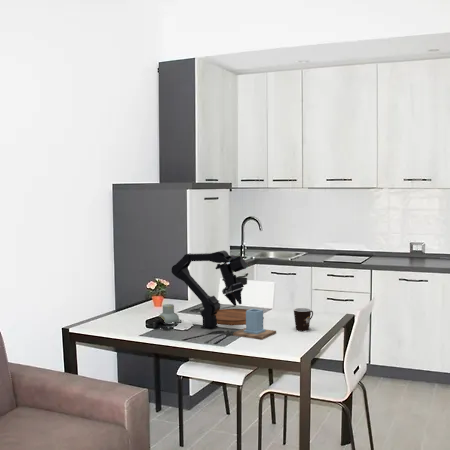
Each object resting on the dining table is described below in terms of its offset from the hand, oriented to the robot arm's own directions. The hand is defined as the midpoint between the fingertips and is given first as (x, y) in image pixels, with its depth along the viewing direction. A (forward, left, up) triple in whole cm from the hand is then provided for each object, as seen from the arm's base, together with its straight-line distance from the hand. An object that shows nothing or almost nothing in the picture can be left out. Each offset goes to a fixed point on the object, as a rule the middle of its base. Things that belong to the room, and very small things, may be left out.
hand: (238, 304), depth 304 cm
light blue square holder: (+11, -3, -12) cm, 16 cm away
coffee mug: (+28, +18, -13) cm, 36 cm away
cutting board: (-16, +22, -14) cm, 31 cm away
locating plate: (+11, -3, -13) cm, 17 cm away
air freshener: (-39, -5, -13) cm, 42 cm away
